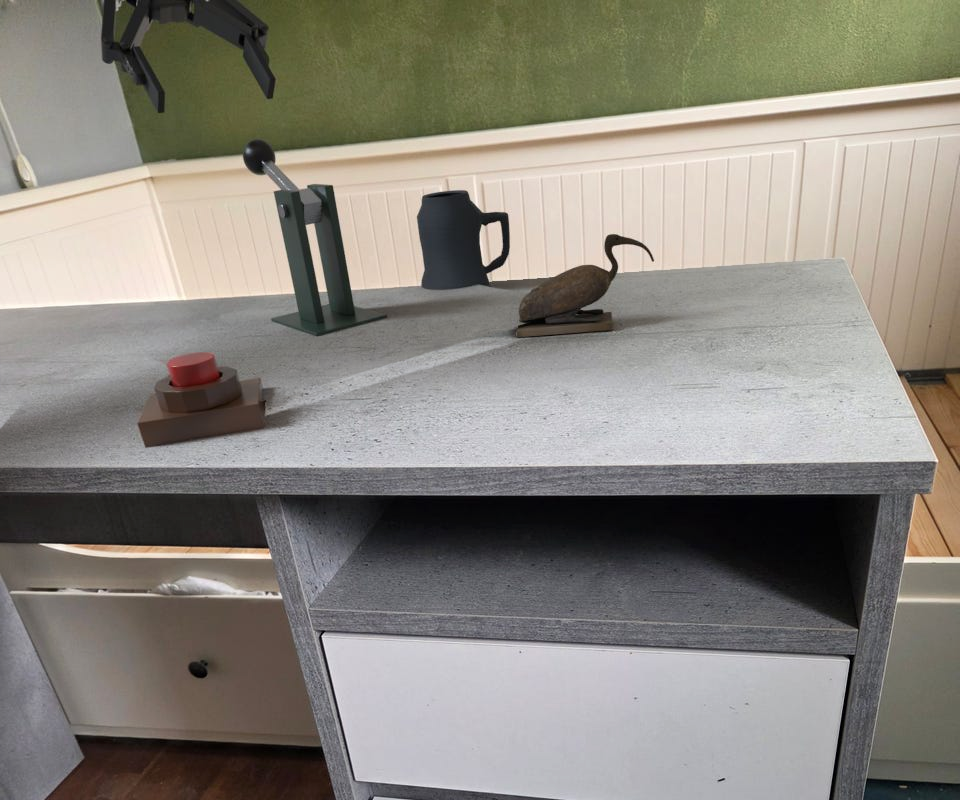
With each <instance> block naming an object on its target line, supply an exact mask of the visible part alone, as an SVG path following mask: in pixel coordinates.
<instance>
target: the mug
mask: <svg viewBox="0 0 960 800" xmlns="http://www.w3.org/2000/svg"><path fill="white" fill-rule="evenodd" d="M416 221H417V222H416V223H417V229H418V236H419V243H420V246H421V253H422V261H423V268H424V271H423V274H422V277H421V284H420V286H421V288H422V289H425V290H431V291H448V290H449V291H450V290H457V289H465V288H469V287H474V286H482V287H483V286H485V287H489V288H491V287H492V286H491V283H490V280H489V276H488V274H489V273H492V272H493V271H496V270H498V269H500V268H501V267H503V266H504V265H505V263H506V261H507V259H508V257H509V255H510V250H511V234H510V218H509V214H508V212H505V211H490V212H489V211H488V212H483V211H482V210H481V209H480V208H479V207H478V205H476V204H475V203H474V202H473V201H472V200H471V197H470V194H469V191H468V190H465V189H456V190H455V189H454V190H444V191H443V190H442V191H437V192H431V193H427V194H423V195H422V196H421V205H420V208H419V211H418V213H417V215H416ZM497 222H499V223H500V228H501V237H502V249H501V253H500V255H499V256H497V257H496V258H494V259H493V260H491V262H490V263H489V264H488V265H486V266H485V265H484V264H483V256H482V250H481V231H482V230H481V229H482V226H484V227H486V226H488V225H489V224H493V223H497Z"/></svg>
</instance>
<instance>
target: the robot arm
mask: <svg viewBox="0 0 960 800" xmlns="http://www.w3.org/2000/svg"><path fill="white" fill-rule="evenodd" d="M99 2H100V5H101V6H102V19H101V34H100V47H101V48H100V49H101V61H102V62H103V63H104V64H107V65H111V64H113V63H114V62H118V63H119V65H120V66H119V69H120V71H122V72H123V73H125V74H128V75H129V77H130V79H131V81H132V83H133V84H135V86H137V87H139V86H142V87H143V88H144V91H145V92H146V94H147V96H148V98H149V100H150V101H151V103H152V105H153V107H154V109H155V111H156V113H157V114H162V113H163V114H165V108H166V107H165V106H166V104H165V103H166V102H165V101H166V92H165V90H164V88H163V86H162V84H161V81H159V79H158V77H157V75H156V73H155V71H154V70H153V68H152V66H151V65H150V63H149V61H148V59H147V58H146V56H145V54H144V52H143V50H142V49H141V45H142V42H143V40H144V37H145V35H146V33H147V32H149V30H150V28H151V26H152V24H153V21H154V22H157V23H158V24H159V25H164V24H169V23H185V22H186V23H188V24H189V25H192V26H193V27H195V28H199V27H202V28H203V29H205V30H207V31H209V32H210V33H213V34H215V35H216V36H218V37H219V38H221V39H223V40H225V41H226V42H228V43H230V44H231V45H232V46H235V47H236V48H239V50H240V49H241V51H243V52H242V58H243V60H244V61H245V63H246V65H247V67H248V68H249V71H250V72H251V74H252V76H253V77H254V79H255V81H256V82H257V84H258V86H259V88H260V90H261V91H262V93H263V95H264V97H265V98H266V100H272V99H274V93H275V86H276V80H277V79H276V76H275V75H274V74H273V71H272V70H271V68H270V57H269V55H268V53H267V51H266V48H267V43H268V36H269V28H270V27H269V25H268V24H267V23H266V22H264V21H263V20H262V19H260V18H259V17H258V16H257V15H256V14H254V13H253V12H252V11H251V10H250V9H248V8H247V7H246V6H245V5H244V4H242V3H241V2H240V1H238V0H99ZM122 2H125V3H126V4H127V6H129V7H132V8H133V9H134V10H133V11H132V14H131V15H130V17H129V21H128V22H127V25H126V27H125V29H124V31H123V33H122V35H121V37H120V40H119V41H116V28H117V12H118V11H120V10H119V8H121V7H122ZM193 5H194V7H193ZM192 7H193V12H192Z"/></svg>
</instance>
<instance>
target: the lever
mask: <svg viewBox="0 0 960 800" xmlns="http://www.w3.org/2000/svg"><path fill="white" fill-rule="evenodd" d="M276 159H277V157H276V153H275V150H274V148H273V147H272V145H270V143H268V142H267V141H266V140H263V139H260V138H255V139H251V140H250V141H248V142H247V143H246V144H245V146H244V147H243V150H242V160H243V163H244V165H245V167H246V168H247V170H248V171H249V172H251V173H252V174H253V175H256V176H267V177H268V178H269V179H270V180H271V181H272V182H273V183H274V184H275V185H276V186H277V187H278V188H279V190H290V191H299V193H300V198H301V203H302V208H303V213H304V219H305V224H306V226H309V225H314V223H318V222H322V200H321V199H320V198H319V197H318V196H317V195H316V194H315V193H314V192H313V191H312V190H311V189H310V188H307V187H305V188H299V187H298V186H297V185H296V184H295V183H294V182H293V181H292V180H291V179H290V178H289V177H288V176H287V175H286V174H285V173H284V172H283V171H282V170H281V169H280V168H279V167H278V166H277V165H276Z"/></svg>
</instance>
